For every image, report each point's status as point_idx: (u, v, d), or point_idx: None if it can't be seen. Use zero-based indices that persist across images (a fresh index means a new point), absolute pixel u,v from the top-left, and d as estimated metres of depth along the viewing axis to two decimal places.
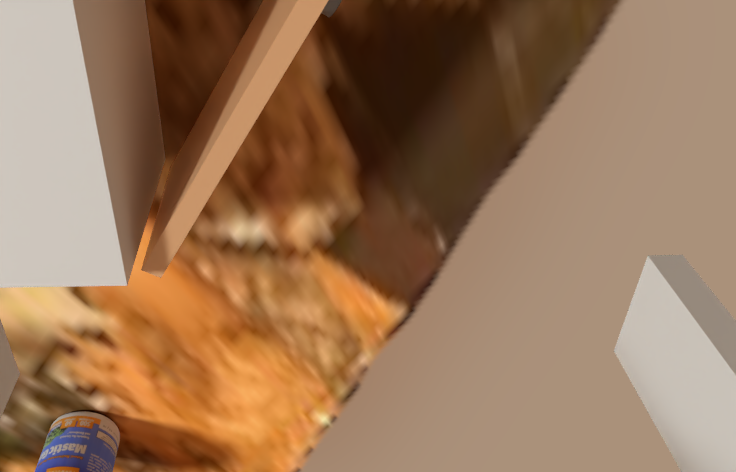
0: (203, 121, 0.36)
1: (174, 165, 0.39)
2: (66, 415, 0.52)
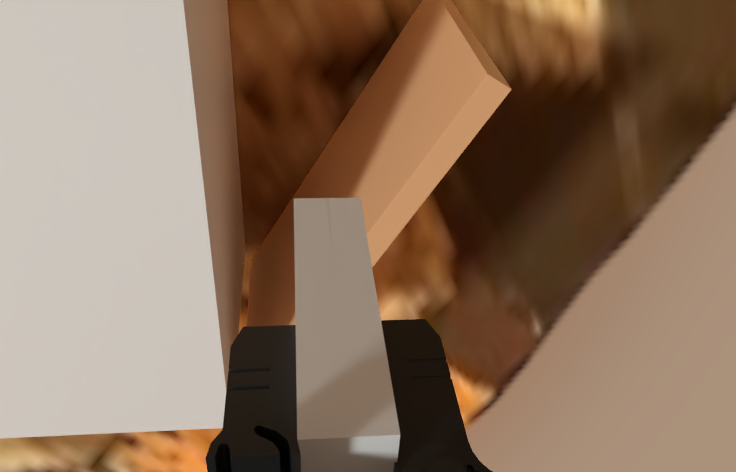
0: None
1: (258, 261, 0.35)
2: None
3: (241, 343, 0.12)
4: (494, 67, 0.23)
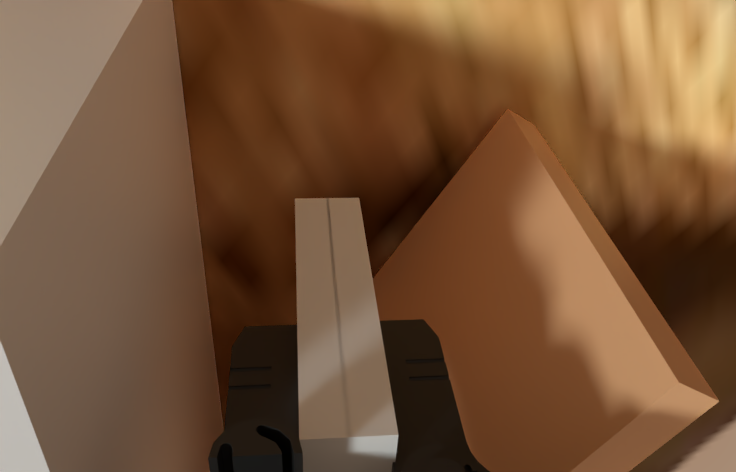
0: None
1: None
2: None
3: (242, 343, 0.12)
4: (665, 327, 0.12)
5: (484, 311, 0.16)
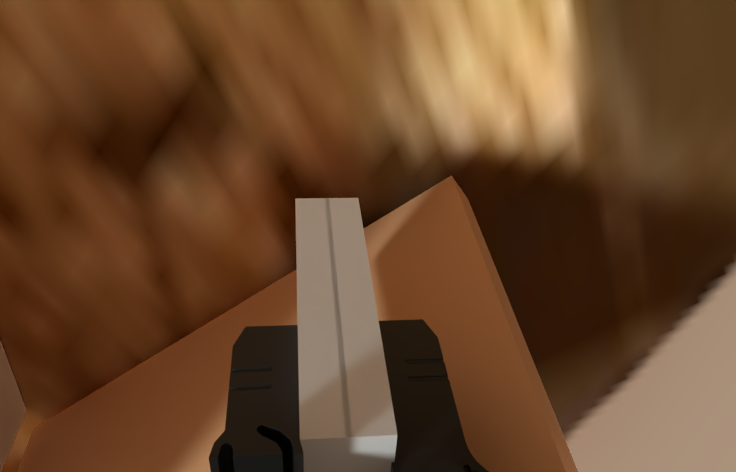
0: (126, 436, 0.20)
1: (42, 447, 0.22)
2: None
3: (243, 343, 0.12)
4: (557, 427, 0.13)
5: None
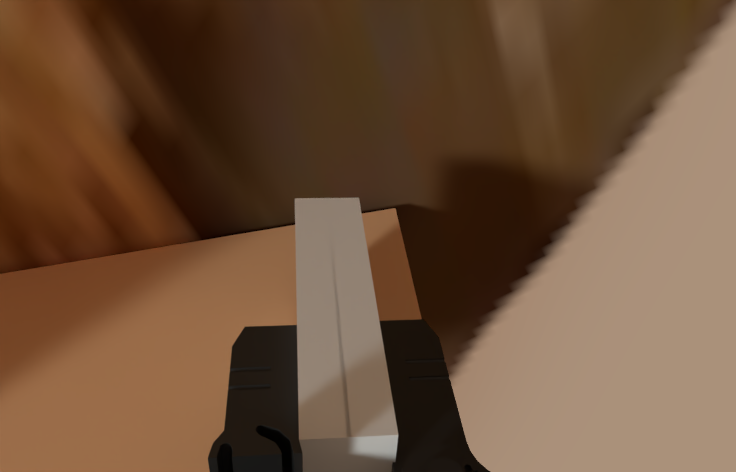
0: None
1: None
2: None
3: (242, 343, 0.12)
4: None
5: None
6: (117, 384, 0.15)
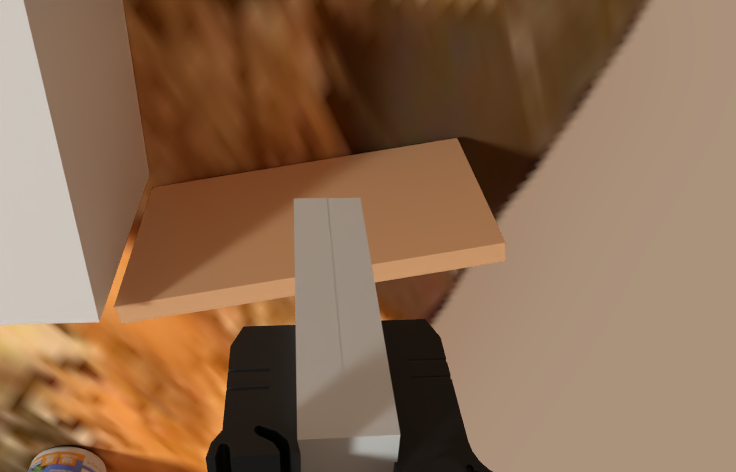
0: (243, 201, 0.34)
1: (166, 196, 0.36)
2: (47, 451, 0.48)
3: (240, 343, 0.12)
4: None
5: (416, 197, 0.33)
6: None
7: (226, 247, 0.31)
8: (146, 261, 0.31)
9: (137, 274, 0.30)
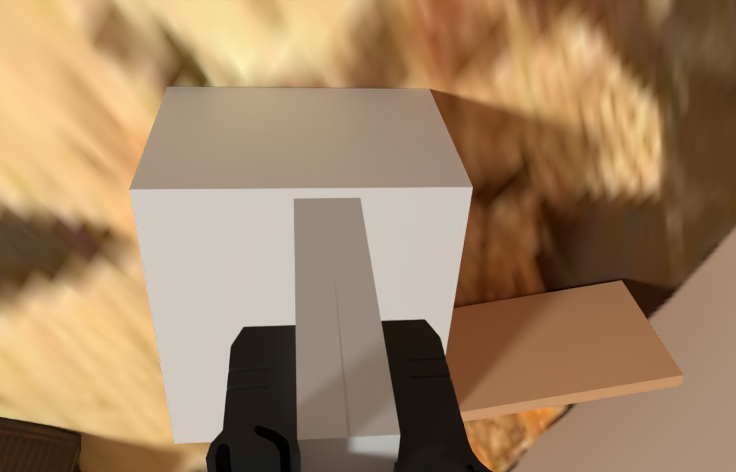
0: (483, 331, 0.50)
1: None
2: None
3: (241, 343, 0.12)
4: None
5: (609, 333, 0.48)
6: (555, 342, 0.48)
7: (487, 371, 0.47)
8: None
9: None
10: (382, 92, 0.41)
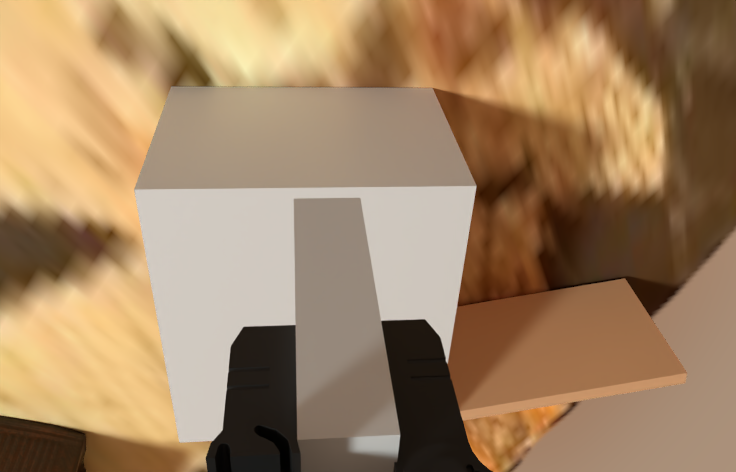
0: (486, 330, 0.50)
1: None
2: None
3: (241, 343, 0.12)
4: None
5: (612, 331, 0.48)
6: (558, 340, 0.48)
7: (491, 369, 0.47)
8: None
9: None
10: (385, 91, 0.41)
